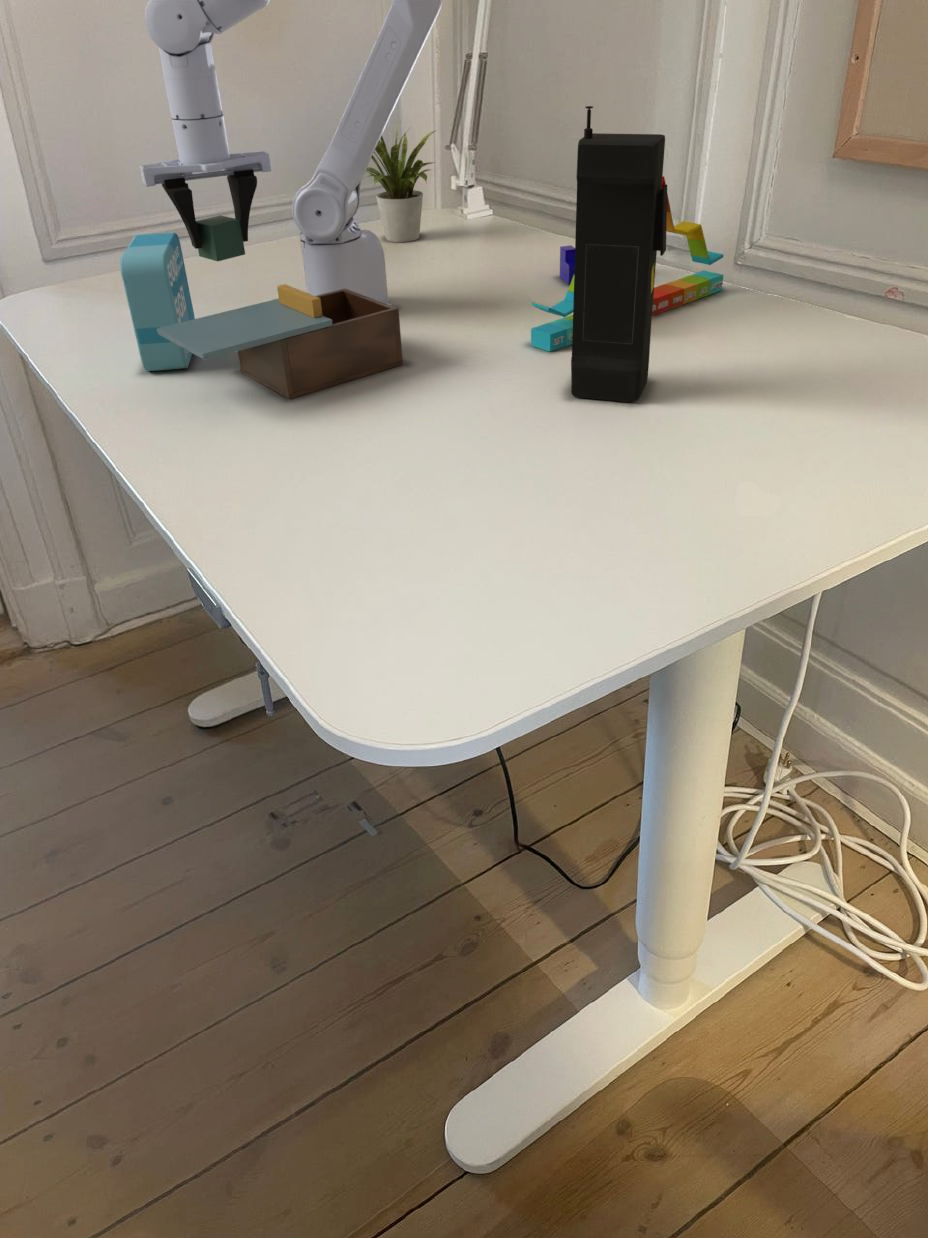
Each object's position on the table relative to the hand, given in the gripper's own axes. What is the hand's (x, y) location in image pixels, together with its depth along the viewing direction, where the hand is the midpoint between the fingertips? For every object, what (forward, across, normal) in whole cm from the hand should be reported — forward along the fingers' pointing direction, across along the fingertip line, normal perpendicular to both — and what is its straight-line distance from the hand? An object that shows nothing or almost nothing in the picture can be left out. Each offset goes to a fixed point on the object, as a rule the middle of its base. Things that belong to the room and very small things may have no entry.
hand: (219, 243), depth 115 cm
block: (+1, 0, 0) cm, 1 cm away
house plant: (+9, +31, +24) cm, 40 cm away
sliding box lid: (+2, -4, -26) cm, 27 cm away
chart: (+9, +41, -27) cm, 50 cm away
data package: (+8, -10, -12) cm, 18 cm away
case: (+8, +4, -25) cm, 26 cm away
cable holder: (+9, +46, -11) cm, 48 cm away
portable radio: (+9, +27, -45) cm, 53 cm away
